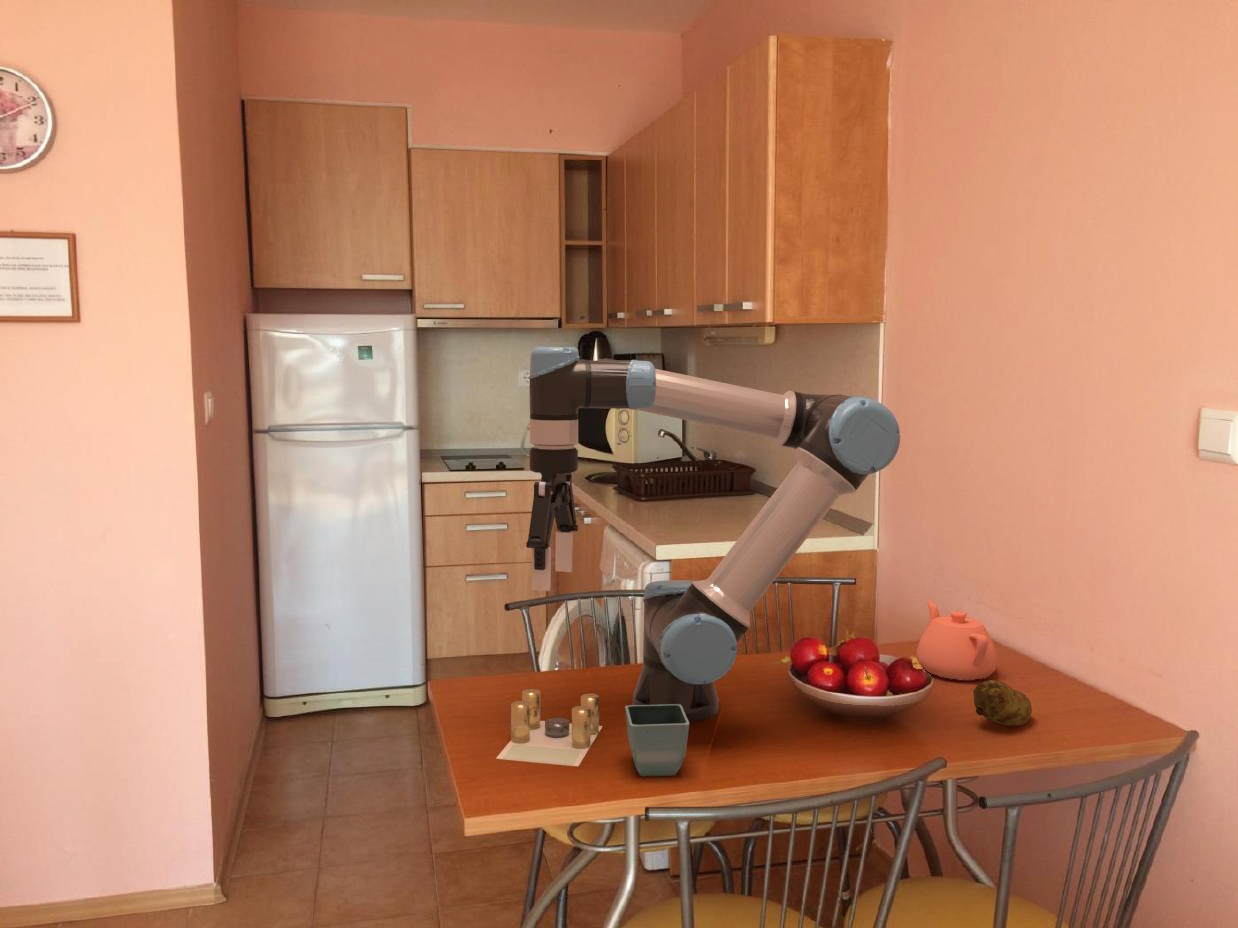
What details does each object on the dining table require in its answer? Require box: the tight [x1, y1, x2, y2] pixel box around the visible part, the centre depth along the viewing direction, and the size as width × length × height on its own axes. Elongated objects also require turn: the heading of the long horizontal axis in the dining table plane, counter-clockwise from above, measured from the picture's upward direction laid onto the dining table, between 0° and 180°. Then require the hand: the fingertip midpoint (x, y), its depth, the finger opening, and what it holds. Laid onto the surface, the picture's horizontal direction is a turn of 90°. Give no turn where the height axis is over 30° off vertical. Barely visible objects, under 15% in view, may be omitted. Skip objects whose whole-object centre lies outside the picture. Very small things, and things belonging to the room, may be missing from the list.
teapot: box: [916, 599, 998, 681], centre depth 205 cm, size 22×15×12 cm
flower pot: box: [624, 704, 690, 777], centre depth 155 cm, size 9×9×9 cm
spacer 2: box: [521, 688, 541, 730], centre depth 171 cm, size 3×3×6 cm
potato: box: [972, 679, 1033, 727], centre depth 176 cm, size 8×13×8 cm, turn 110°
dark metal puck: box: [544, 717, 570, 738], centre depth 168 cm, size 4×4×2 cm
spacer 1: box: [510, 700, 530, 744], centre depth 165 cm, size 3×3×6 cm
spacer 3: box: [580, 693, 600, 735], centre depth 169 cm, size 3×3×6 cm
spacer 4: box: [571, 705, 592, 749], centre depth 163 cm, size 3×3×6 cm
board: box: [495, 720, 603, 767], centre depth 165 cm, size 13×17×1 cm
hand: (553, 580), depth 163 cm, fingers open, 13 cm apart
